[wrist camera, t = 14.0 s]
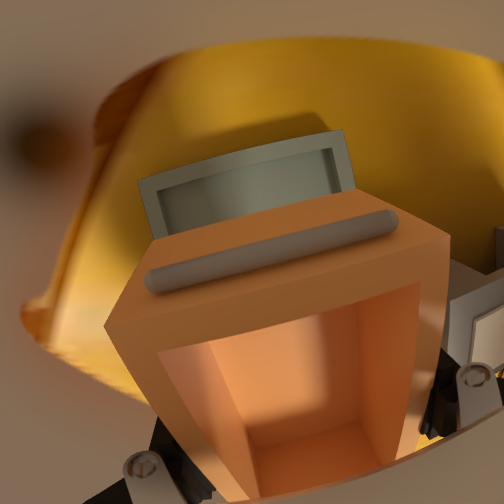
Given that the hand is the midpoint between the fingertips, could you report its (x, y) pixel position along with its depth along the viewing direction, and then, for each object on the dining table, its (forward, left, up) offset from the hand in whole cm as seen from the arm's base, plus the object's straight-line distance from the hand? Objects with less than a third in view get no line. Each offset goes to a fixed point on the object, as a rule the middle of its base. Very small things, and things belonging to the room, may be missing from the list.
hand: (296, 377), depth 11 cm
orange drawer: (0, 0, -1) cm, 1 cm away
